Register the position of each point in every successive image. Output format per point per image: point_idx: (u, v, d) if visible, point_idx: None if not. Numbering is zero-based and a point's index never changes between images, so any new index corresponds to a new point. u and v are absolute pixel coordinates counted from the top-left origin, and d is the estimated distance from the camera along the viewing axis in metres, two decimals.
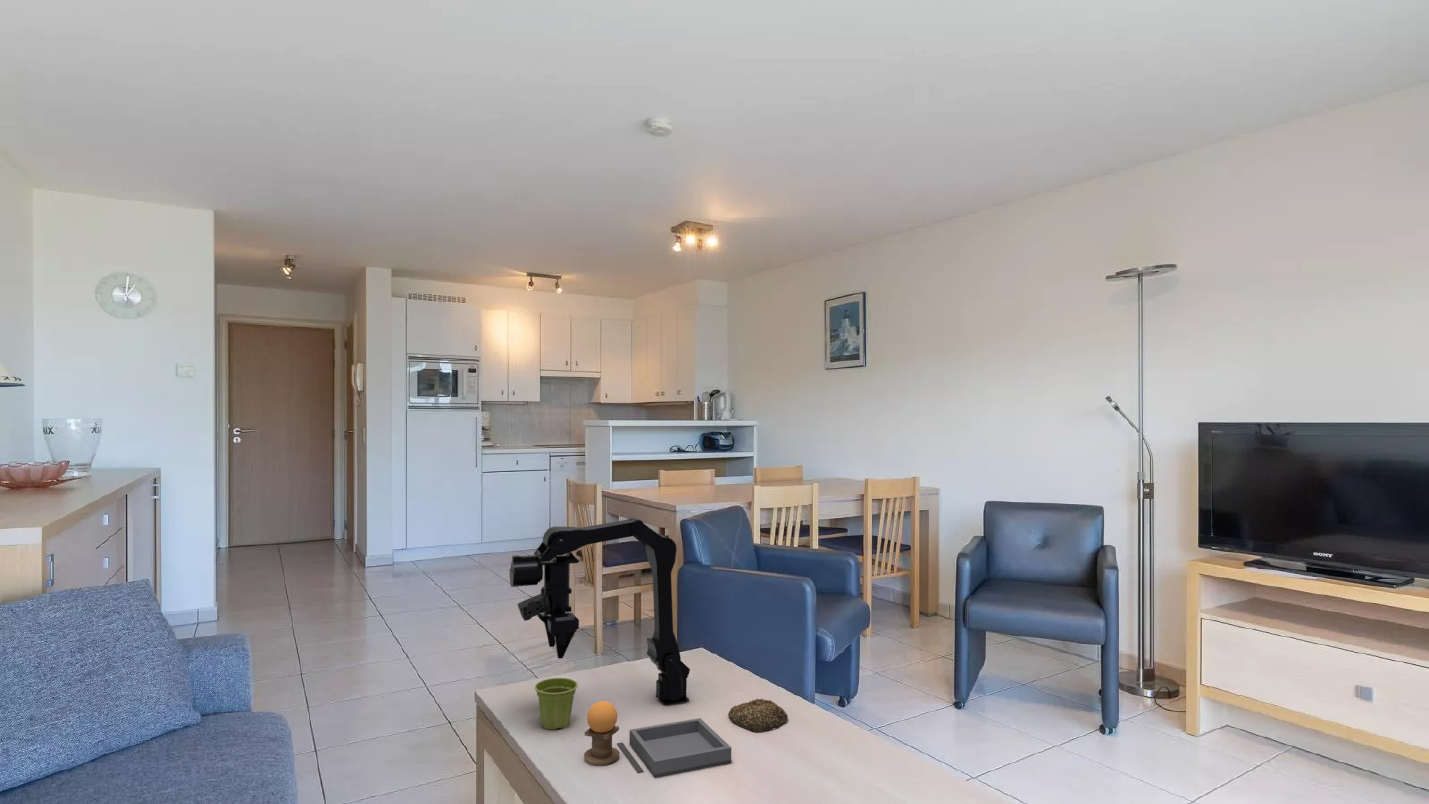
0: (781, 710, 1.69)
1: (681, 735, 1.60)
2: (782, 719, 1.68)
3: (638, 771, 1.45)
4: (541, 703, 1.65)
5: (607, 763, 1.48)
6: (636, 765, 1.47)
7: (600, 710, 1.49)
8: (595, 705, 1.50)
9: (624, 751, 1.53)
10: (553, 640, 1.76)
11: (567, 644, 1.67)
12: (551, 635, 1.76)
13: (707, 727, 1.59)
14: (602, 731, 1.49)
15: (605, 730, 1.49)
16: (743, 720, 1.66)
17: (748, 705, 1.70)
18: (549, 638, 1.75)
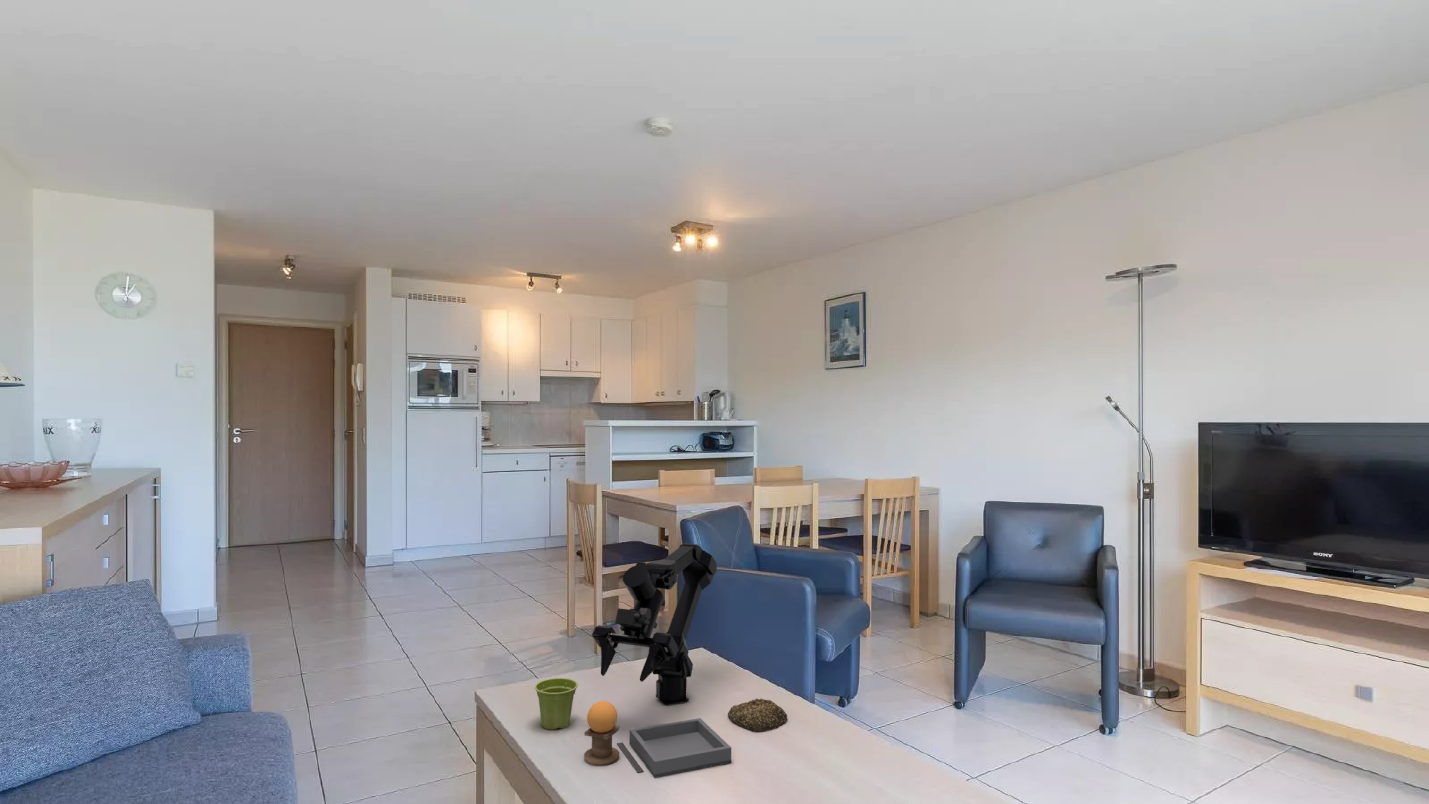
0: (781, 710, 1.70)
1: (681, 735, 1.60)
2: (782, 718, 1.68)
3: (638, 771, 1.45)
4: (541, 703, 1.65)
5: (607, 763, 1.48)
6: (636, 765, 1.47)
7: (600, 710, 1.49)
8: (595, 705, 1.50)
9: (624, 751, 1.53)
10: (606, 669, 1.61)
11: (652, 670, 1.59)
12: (606, 662, 1.62)
13: (707, 727, 1.59)
14: (602, 731, 1.49)
15: (605, 730, 1.49)
16: (743, 720, 1.66)
17: (748, 705, 1.70)
18: (605, 664, 1.61)
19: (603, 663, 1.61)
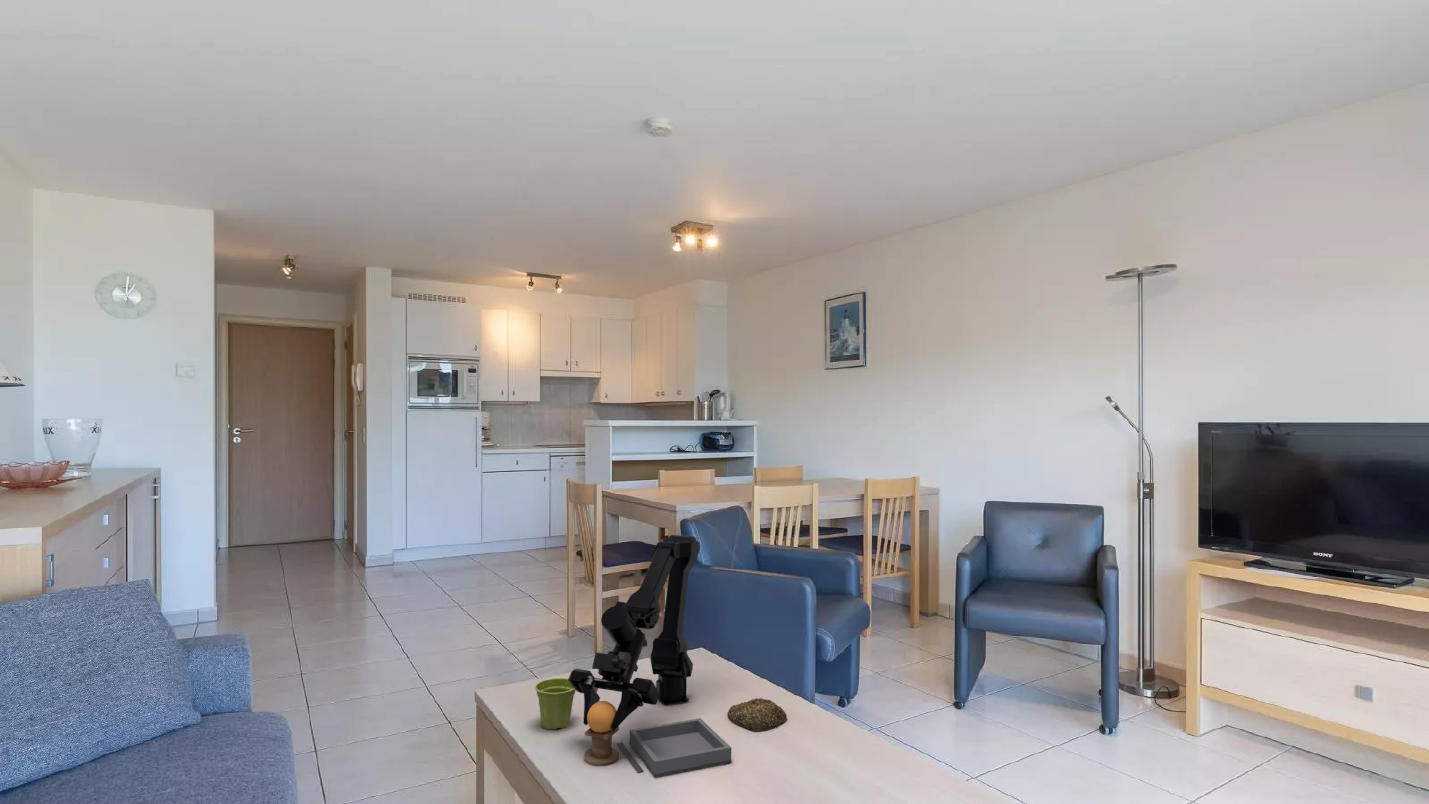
0: (780, 709, 1.70)
1: (681, 735, 1.60)
2: (781, 718, 1.68)
3: (638, 771, 1.45)
4: (541, 703, 1.65)
5: (607, 763, 1.48)
6: (636, 765, 1.47)
7: (600, 710, 1.49)
8: (595, 705, 1.50)
9: (624, 751, 1.53)
10: None
11: (625, 717, 1.51)
12: None
13: (707, 727, 1.59)
14: (602, 731, 1.49)
15: (605, 730, 1.49)
16: (742, 719, 1.66)
17: (747, 704, 1.70)
18: None
19: (586, 711, 1.52)
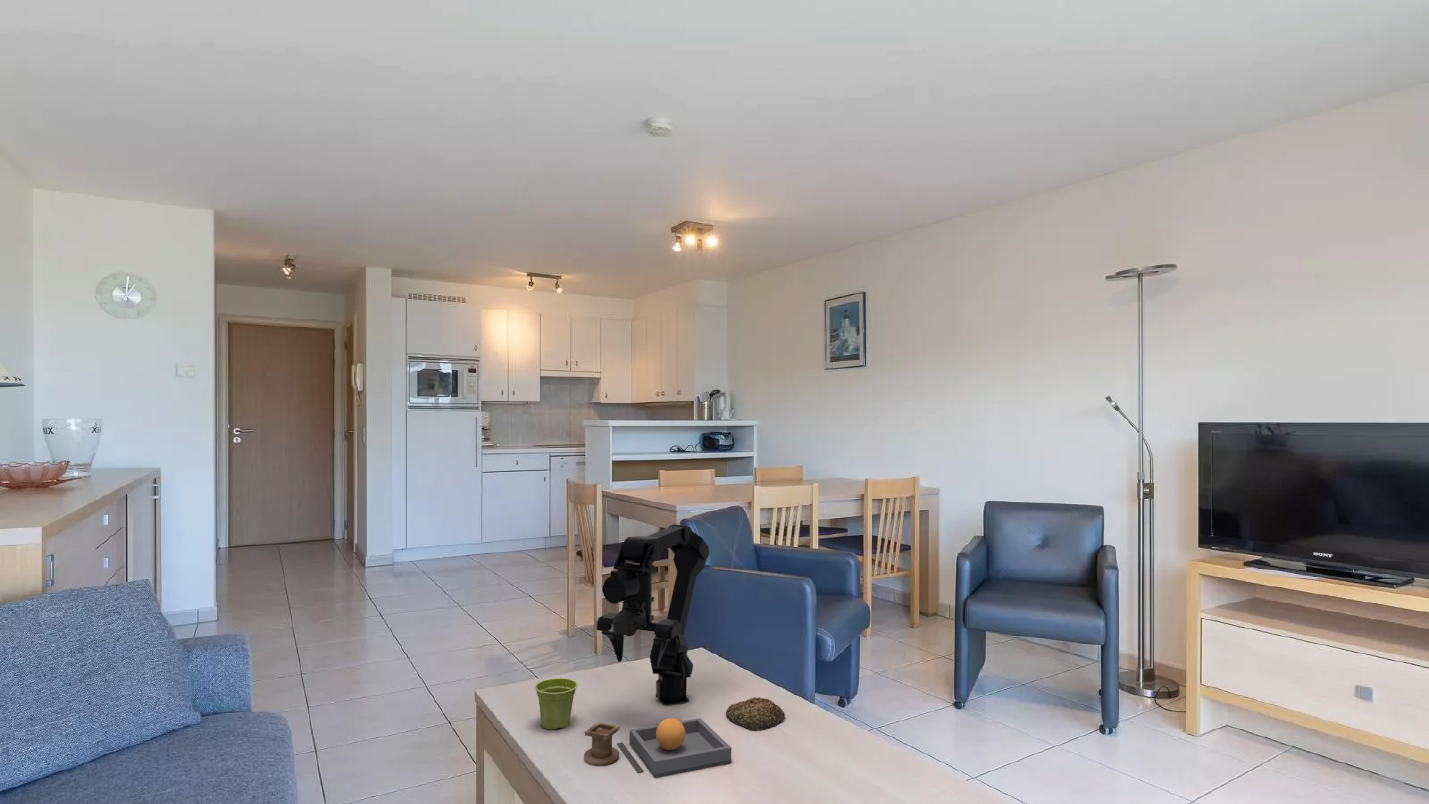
0: (778, 708, 1.70)
1: None
2: (780, 717, 1.69)
3: (638, 771, 1.45)
4: (541, 703, 1.65)
5: (607, 763, 1.48)
6: (636, 765, 1.47)
7: (667, 738, 1.51)
8: (659, 736, 1.52)
9: (624, 751, 1.53)
10: (621, 654, 1.71)
11: (663, 651, 1.68)
12: (619, 649, 1.70)
13: (707, 727, 1.59)
14: None
15: (683, 741, 1.53)
16: (740, 718, 1.67)
17: (745, 703, 1.70)
18: (619, 653, 1.70)
19: (617, 653, 1.70)
